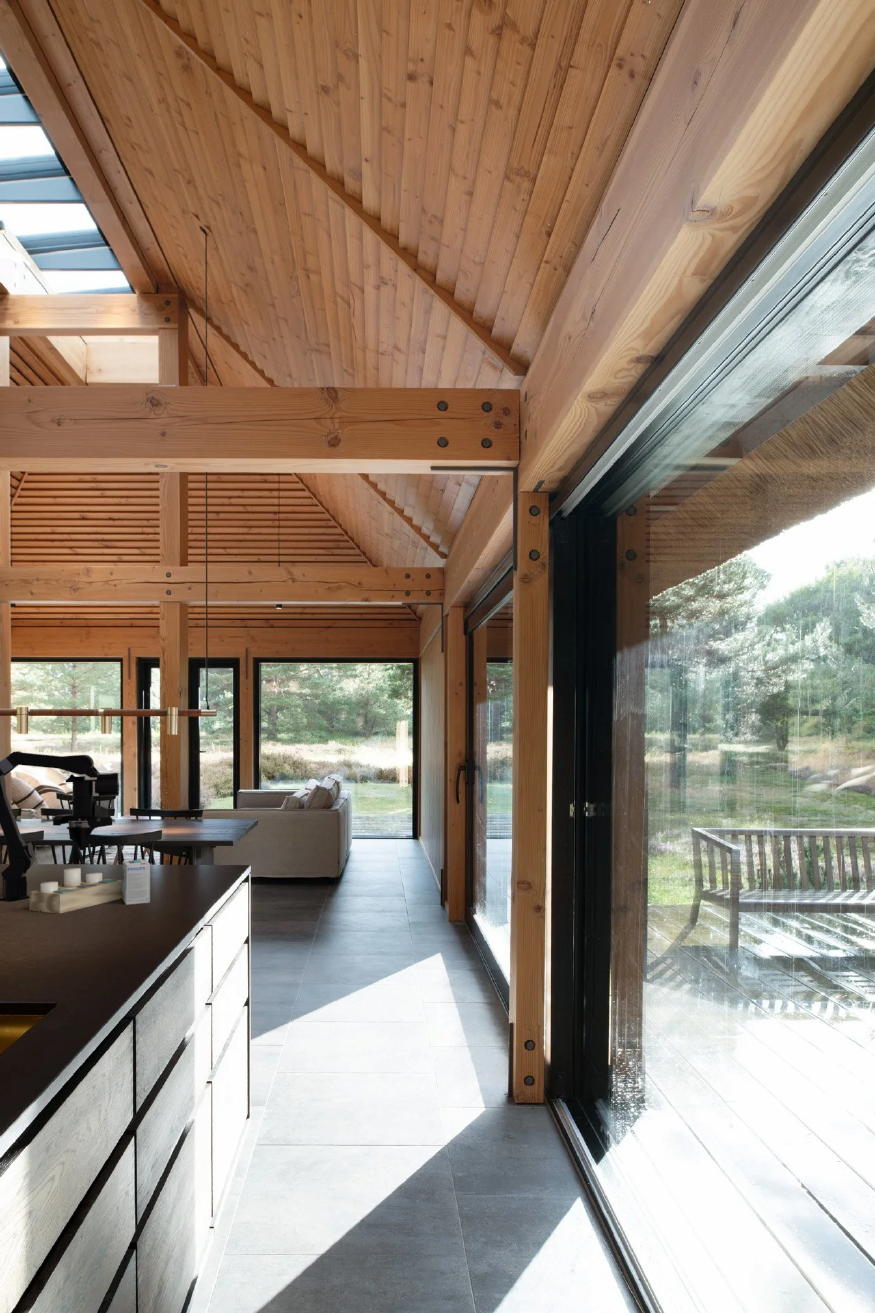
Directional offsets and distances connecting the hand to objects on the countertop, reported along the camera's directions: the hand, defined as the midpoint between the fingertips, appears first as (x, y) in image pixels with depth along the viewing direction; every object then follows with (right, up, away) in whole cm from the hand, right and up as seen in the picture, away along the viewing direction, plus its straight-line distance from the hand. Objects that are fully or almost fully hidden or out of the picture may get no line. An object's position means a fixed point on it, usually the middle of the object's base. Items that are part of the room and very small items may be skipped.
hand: (82, 850), depth 274 cm
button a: (-1, -12, -21) cm, 24 cm away
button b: (+3, -10, -14) cm, 17 cm away
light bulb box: (+20, -12, -11) cm, 26 cm away
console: (+5, -12, -15) cm, 20 cm away
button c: (+6, -12, -7) cm, 15 cm away
